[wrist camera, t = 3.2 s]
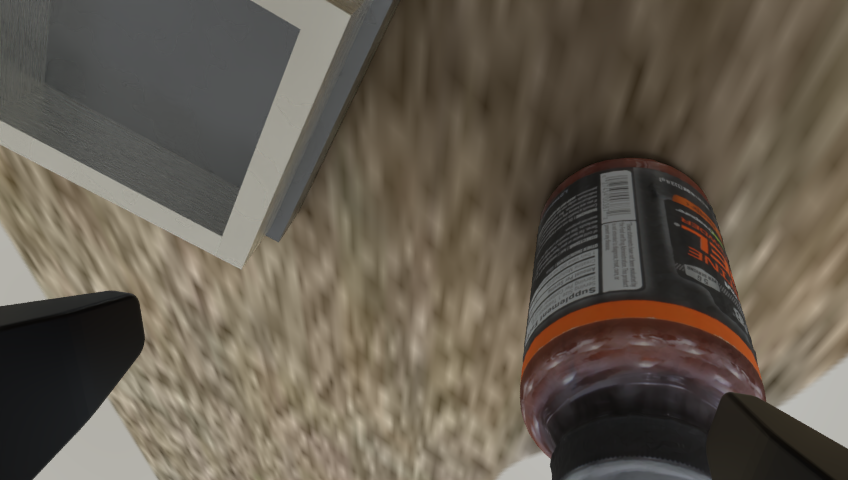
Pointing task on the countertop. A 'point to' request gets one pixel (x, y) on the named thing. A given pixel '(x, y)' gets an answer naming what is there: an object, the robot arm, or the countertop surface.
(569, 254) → the supplement bottle
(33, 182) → the countertop surface
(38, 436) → the robot arm
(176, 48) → the plate
